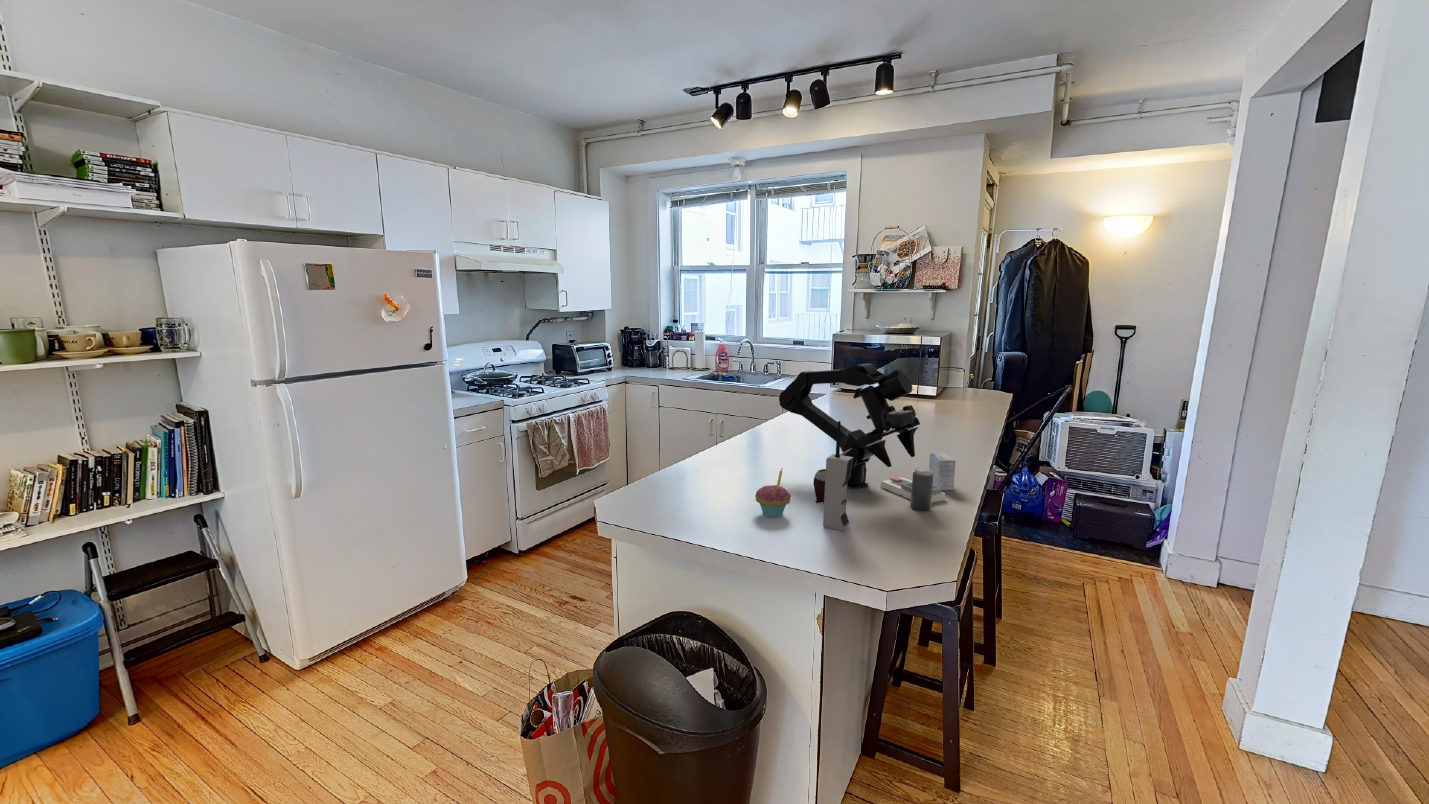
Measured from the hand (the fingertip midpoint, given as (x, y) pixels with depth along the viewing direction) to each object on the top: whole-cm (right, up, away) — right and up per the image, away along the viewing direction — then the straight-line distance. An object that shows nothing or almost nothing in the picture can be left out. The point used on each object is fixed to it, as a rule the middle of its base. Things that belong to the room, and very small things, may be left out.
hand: (901, 461), depth 151 cm
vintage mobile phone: (-21, -13, -19) cm, 32 cm away
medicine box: (+14, -8, +11) cm, 20 cm away
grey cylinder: (+2, -11, -7) cm, 13 cm away
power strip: (+4, -9, +4) cm, 11 cm away
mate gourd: (-20, -10, -3) cm, 23 cm away
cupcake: (-35, -12, -12) cm, 39 cm away
